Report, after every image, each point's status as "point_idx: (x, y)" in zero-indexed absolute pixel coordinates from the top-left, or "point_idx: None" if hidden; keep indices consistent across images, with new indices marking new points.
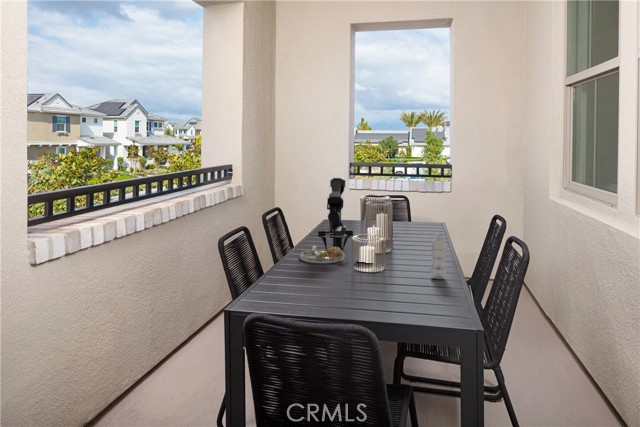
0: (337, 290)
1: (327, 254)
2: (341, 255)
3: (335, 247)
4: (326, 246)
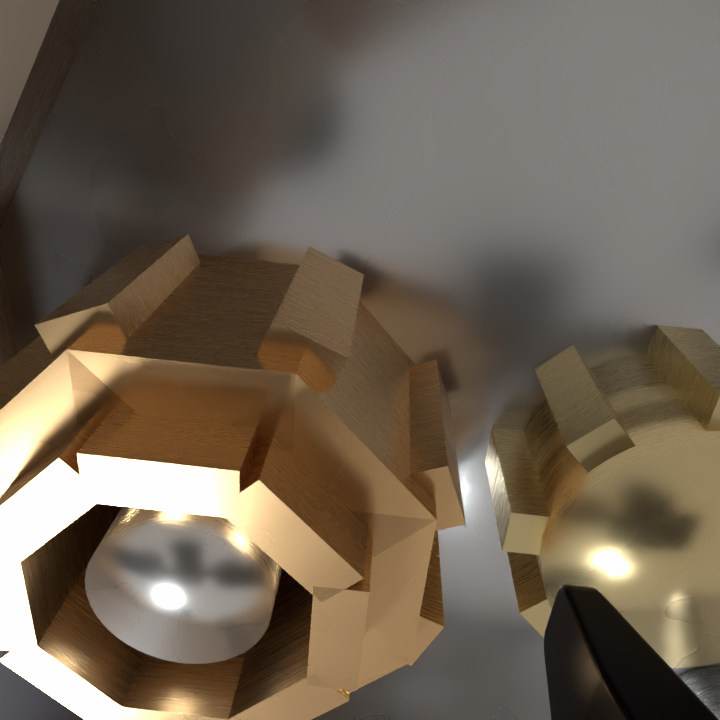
0: None
1: None
2: None
3: (124, 682)
4: (623, 690)
